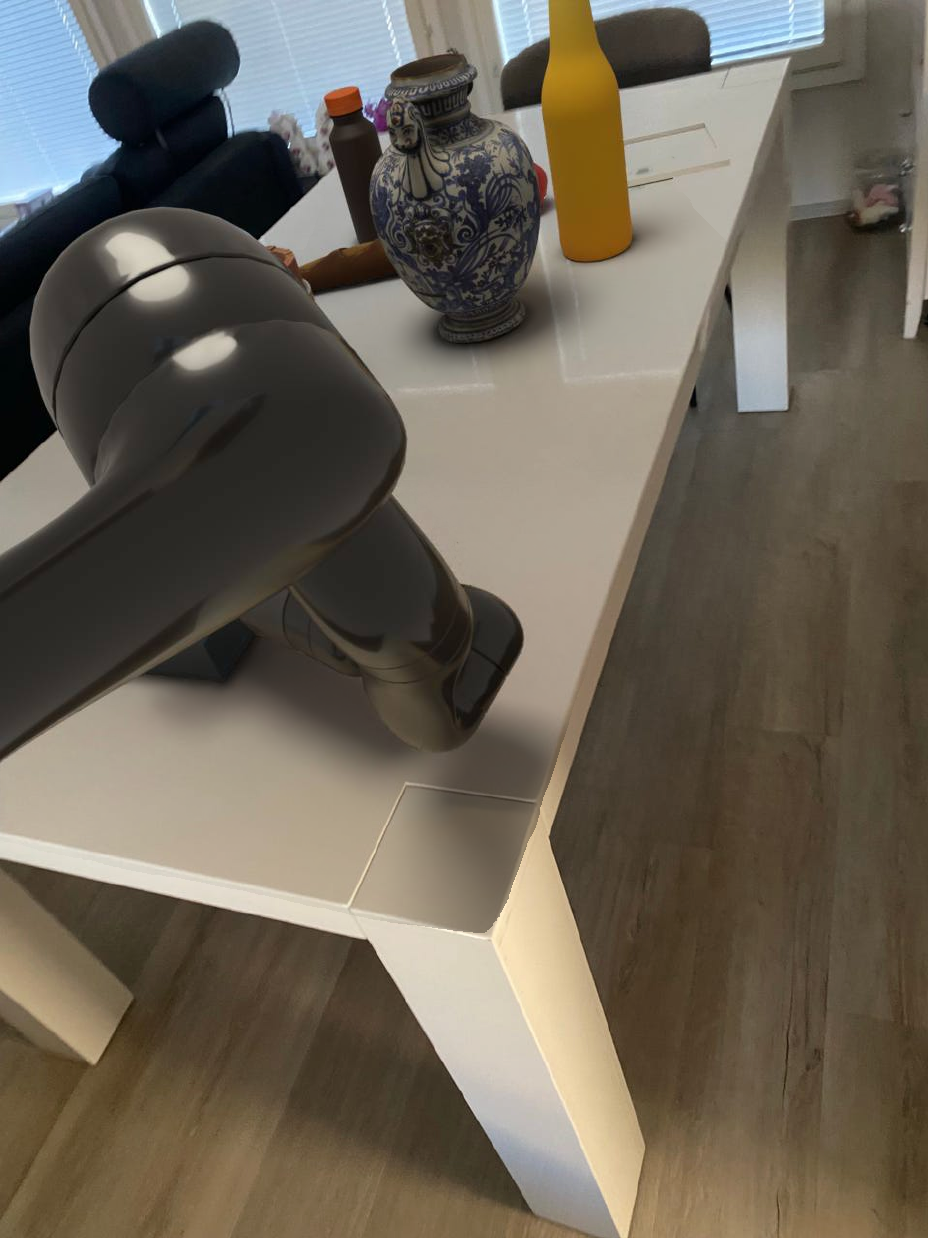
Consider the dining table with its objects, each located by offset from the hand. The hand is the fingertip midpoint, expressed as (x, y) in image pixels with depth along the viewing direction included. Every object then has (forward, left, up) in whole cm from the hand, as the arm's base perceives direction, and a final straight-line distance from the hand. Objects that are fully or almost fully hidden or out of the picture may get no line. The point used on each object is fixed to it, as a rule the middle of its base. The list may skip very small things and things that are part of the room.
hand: (157, 528), depth 79 cm
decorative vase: (+51, -10, -9) cm, 53 cm away
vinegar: (+79, +15, -9) cm, 81 cm away
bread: (+66, +9, -9) cm, 68 cm away
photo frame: (+100, -24, -9) cm, 104 cm away
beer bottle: (+70, -20, -9) cm, 74 cm away
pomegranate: (+84, -5, -9) cm, 85 cm away
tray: (0, +1, -9) cm, 9 cm away
